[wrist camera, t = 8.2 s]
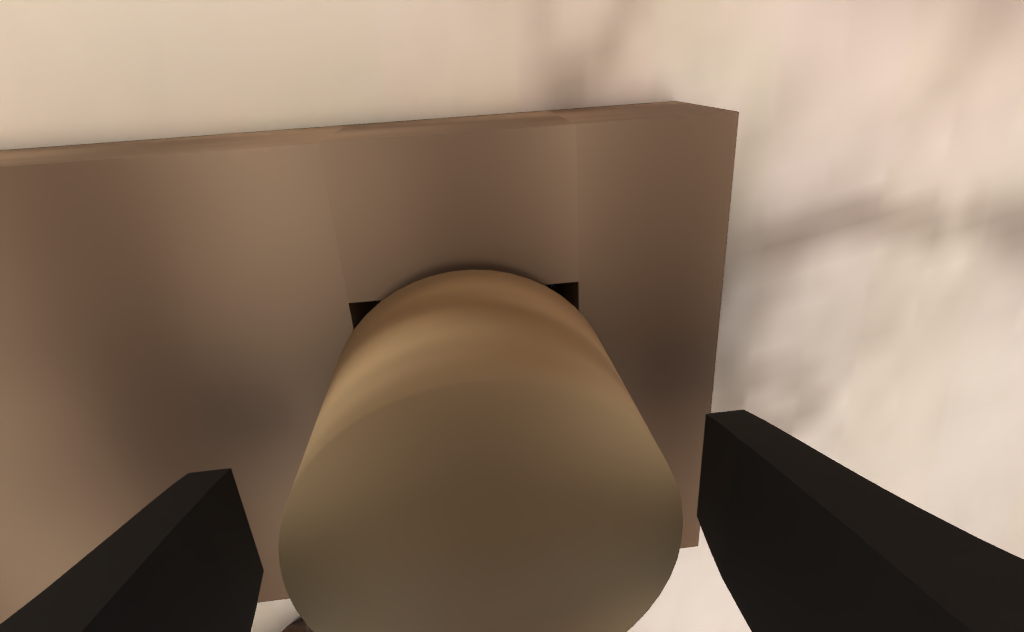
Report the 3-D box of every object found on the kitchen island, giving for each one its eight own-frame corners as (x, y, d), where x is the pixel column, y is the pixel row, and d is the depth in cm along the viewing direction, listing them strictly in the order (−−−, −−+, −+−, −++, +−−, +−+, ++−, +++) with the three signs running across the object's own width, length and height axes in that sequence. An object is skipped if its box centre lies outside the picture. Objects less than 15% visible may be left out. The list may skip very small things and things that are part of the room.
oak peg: (385, 424, 15) (337, 716, 8) (337, 235, 13) (218, 422, 6) (579, 392, 16) (684, 652, 9) (561, 201, 13) (682, 346, 7)
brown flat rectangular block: (81, 535, 16) (4, 634, 13) (-100, 158, 12) (-269, 187, 9) (656, 467, 17) (698, 546, 14) (676, 100, 13) (739, 111, 10)
